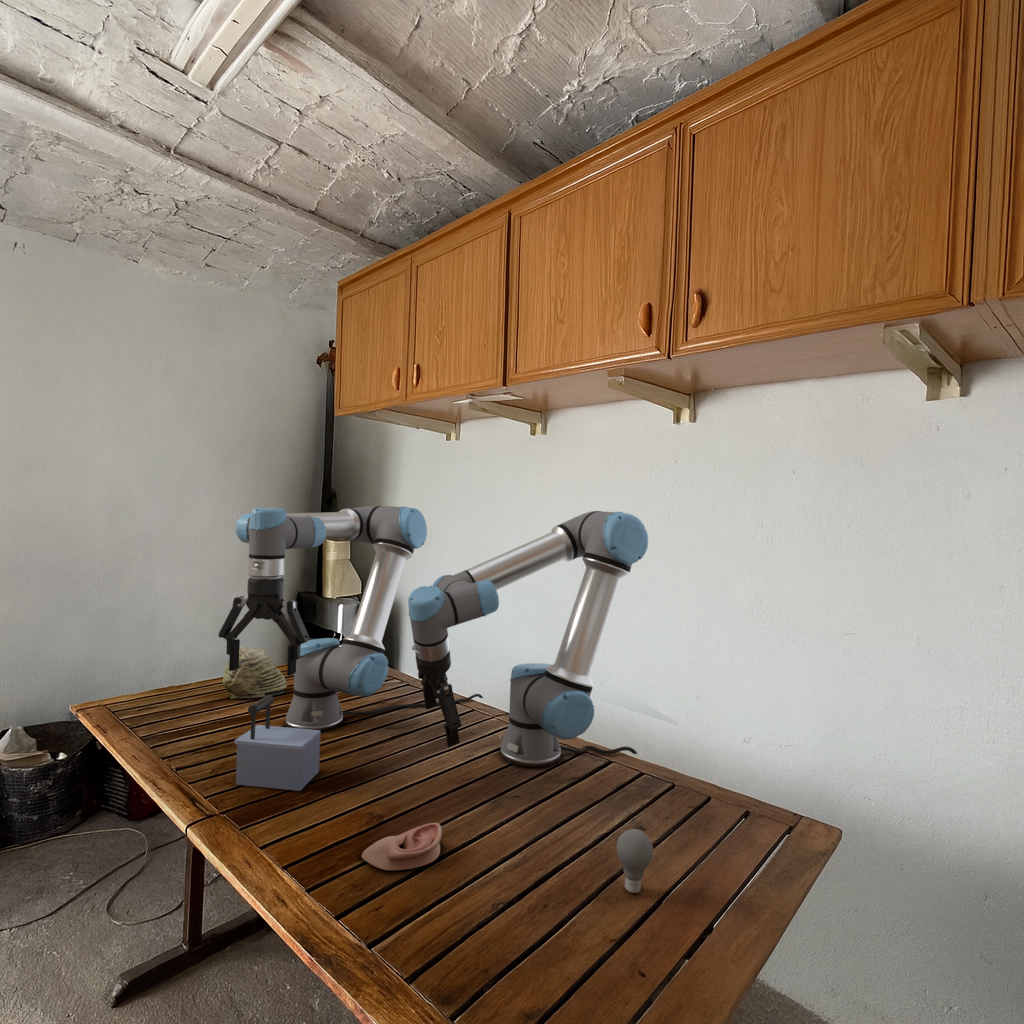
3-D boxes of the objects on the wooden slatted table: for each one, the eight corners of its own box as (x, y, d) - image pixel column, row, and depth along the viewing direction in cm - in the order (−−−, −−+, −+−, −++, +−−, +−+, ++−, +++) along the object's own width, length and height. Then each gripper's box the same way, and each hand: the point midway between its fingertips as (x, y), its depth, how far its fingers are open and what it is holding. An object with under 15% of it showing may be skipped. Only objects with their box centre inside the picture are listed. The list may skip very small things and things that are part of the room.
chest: (235, 784, 138) (237, 744, 137) (258, 766, 147) (259, 728, 147) (300, 791, 136) (301, 750, 136) (319, 772, 146) (320, 734, 145)
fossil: (218, 695, 195) (220, 647, 195) (278, 685, 208) (279, 640, 207) (228, 703, 189) (230, 653, 188) (289, 692, 201) (290, 645, 201)
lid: (234, 744, 137) (235, 705, 137) (257, 728, 147) (258, 692, 147) (301, 750, 136) (303, 711, 136) (320, 734, 145) (321, 697, 145)
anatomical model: (354, 842, 109) (381, 811, 120) (353, 865, 109) (380, 831, 121) (427, 854, 107) (448, 821, 118) (426, 877, 107) (447, 842, 118)
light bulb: (610, 879, 108) (613, 822, 108) (644, 879, 109) (647, 822, 109) (619, 902, 102) (622, 840, 102) (655, 901, 103) (658, 840, 103)
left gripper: (203, 575, 139) (200, 671, 139) (312, 582, 136) (308, 680, 136) (223, 572, 146) (219, 663, 147) (326, 578, 143) (322, 671, 144)
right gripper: (397, 628, 147) (408, 698, 156) (437, 692, 127) (447, 768, 136) (428, 618, 150) (436, 687, 159) (471, 679, 130) (479, 754, 139)
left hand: (262, 671), depth 142 cm, fingers open, 13 cm apart
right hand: (441, 725), depth 148 cm, fingers open, 13 cm apart
